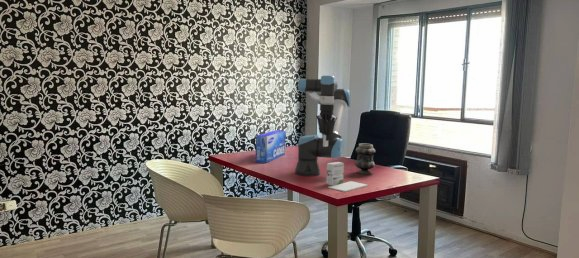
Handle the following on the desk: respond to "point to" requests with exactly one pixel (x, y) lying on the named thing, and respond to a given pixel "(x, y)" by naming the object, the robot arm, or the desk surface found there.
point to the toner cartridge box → (270, 146)
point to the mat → (347, 186)
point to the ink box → (335, 173)
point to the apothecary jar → (365, 158)
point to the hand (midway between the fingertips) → (325, 146)
